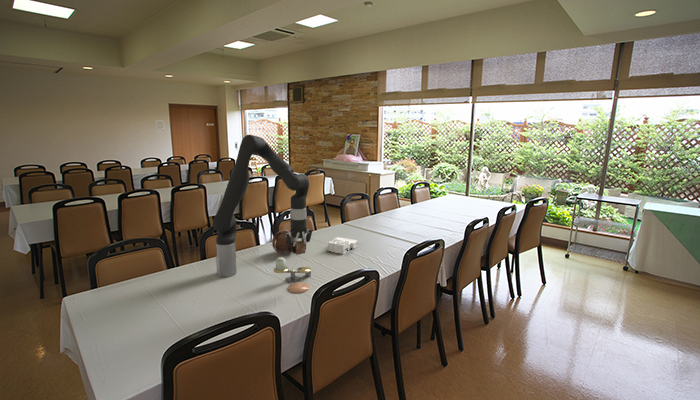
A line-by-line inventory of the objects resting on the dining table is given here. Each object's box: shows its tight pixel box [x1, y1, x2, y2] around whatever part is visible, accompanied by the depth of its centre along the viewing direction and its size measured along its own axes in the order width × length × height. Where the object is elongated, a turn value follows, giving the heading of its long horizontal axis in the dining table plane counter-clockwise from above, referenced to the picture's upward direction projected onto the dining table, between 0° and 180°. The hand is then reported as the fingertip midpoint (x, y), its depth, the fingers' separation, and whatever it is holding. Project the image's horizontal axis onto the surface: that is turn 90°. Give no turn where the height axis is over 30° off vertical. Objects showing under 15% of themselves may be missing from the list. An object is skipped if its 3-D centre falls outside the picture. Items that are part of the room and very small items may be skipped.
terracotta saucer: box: [287, 281, 310, 294], centre depth 167 cm, size 10×10×1 cm
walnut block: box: [295, 239, 306, 256], centre depth 164 cm, size 4×4×5 cm
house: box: [327, 236, 359, 255], centre depth 222 cm, size 22×18×6 cm
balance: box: [273, 266, 312, 284], centre depth 175 cm, size 20×7×7 cm, turn 126°
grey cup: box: [275, 256, 287, 271], centre depth 170 cm, size 5×5×6 cm
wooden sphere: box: [271, 229, 293, 256], centre depth 211 cm, size 15×15×15 cm
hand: (298, 251), depth 164 cm, fingers closed on walnut block, 4 cm apart
